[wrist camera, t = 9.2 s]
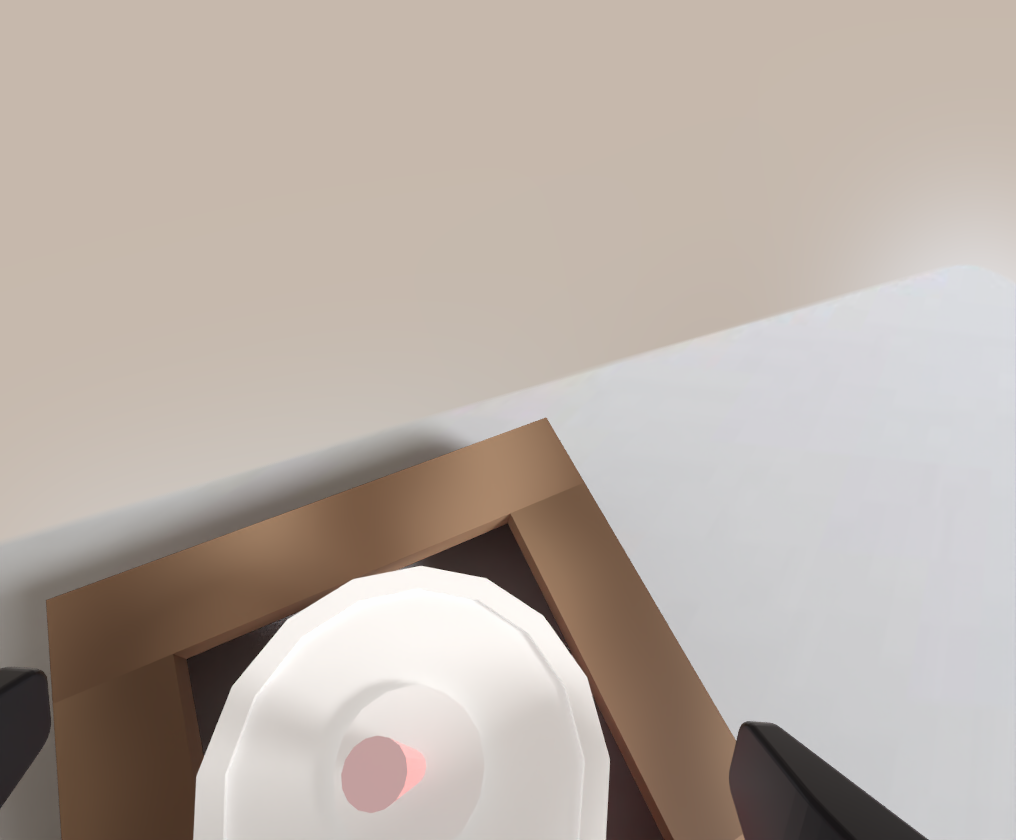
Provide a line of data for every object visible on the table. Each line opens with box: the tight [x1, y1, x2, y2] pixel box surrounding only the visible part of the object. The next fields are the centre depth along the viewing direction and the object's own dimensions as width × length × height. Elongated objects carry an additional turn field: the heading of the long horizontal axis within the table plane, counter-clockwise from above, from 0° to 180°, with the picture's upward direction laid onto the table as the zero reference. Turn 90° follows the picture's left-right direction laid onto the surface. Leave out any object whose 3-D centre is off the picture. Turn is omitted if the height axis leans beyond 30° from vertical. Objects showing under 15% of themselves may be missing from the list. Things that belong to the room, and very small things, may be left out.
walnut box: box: [46, 418, 745, 840], centre depth 14 cm, size 14×14×4 cm
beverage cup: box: [193, 566, 610, 840], centre depth 10 cm, size 6×6×14 cm
